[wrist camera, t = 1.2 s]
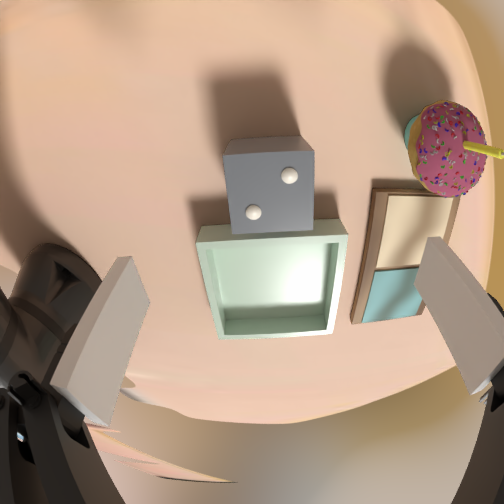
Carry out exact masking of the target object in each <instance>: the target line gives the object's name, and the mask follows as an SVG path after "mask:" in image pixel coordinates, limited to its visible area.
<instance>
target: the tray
mask: <svg viewBox="0 0 504 504" xmlns="http://www.w3.org/2000/svg"><path fill="white" fill-rule="evenodd" d="M347 241H348V233H347V231H346V229H345V227H344V226H343V224H342V222H341V220H340V219H316V220H313V230H305V231H284V232H265V233H247V234H232V228H231V224H224V225H209V226H201V229H200V232H199V234H198V237H197V240H196V247H197V252H198V256H199V261H200V265H201V270H202V274H203V278H204V283H205V287H206V291H207V295H208V299H209V303H210V307H211V311H212V315H213V319H214V323H215V327H216V331H217V334H218V338H219V339H260V338H281V337H297V336H310V335H322V334H332V333H333V328H334V323H335V318H336V312H337V307H338V301H339V296H340V290H341V284H342V277H343V271H344V264H345V257H346V249H347Z"/></svg>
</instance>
